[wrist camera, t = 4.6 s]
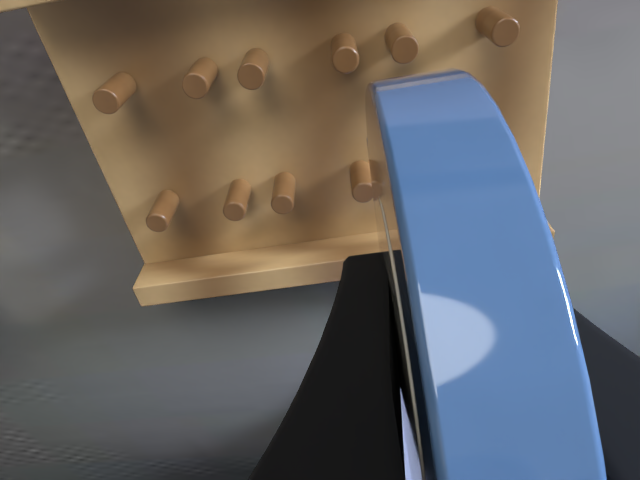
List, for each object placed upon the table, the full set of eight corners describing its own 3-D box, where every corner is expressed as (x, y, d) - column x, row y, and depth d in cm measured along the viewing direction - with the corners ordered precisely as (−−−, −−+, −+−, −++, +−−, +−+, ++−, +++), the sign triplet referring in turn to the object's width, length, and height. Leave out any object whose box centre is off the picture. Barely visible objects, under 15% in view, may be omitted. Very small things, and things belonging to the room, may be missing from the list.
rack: (157, 270, 22) (139, 310, 20) (20, -36, 15) (-30, -25, 13) (530, 219, 20) (555, 256, 18) (560, -147, 14) (605, -155, 11)
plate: (389, 347, 14) (462, 816, 7) (351, 21, 9) (458, 453, 2) (435, 342, 13) (558, 814, 6) (421, 10, 9) (807, 426, 2)
